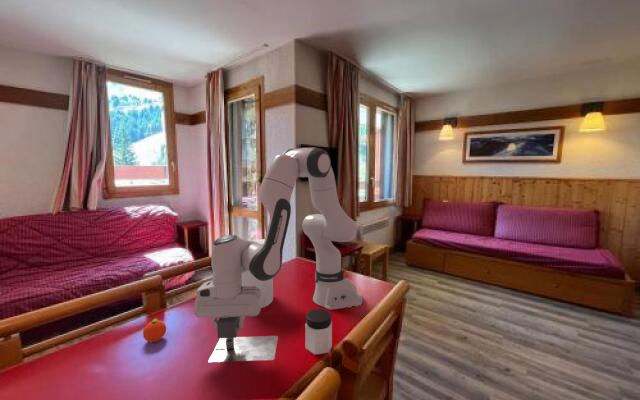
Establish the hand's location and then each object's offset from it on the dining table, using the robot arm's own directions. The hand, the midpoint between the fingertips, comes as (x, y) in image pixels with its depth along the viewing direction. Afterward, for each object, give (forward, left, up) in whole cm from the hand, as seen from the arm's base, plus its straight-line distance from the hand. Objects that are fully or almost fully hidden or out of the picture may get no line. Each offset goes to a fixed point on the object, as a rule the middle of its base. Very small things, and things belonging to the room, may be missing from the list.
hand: (229, 327), depth 88 cm
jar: (-29, 0, -9) cm, 30 cm away
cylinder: (-1, -35, -9) cm, 36 cm away
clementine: (+28, -8, -9) cm, 30 cm away
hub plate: (-5, 0, -8) cm, 10 cm away
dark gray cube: (0, 0, -2) cm, 2 cm away
